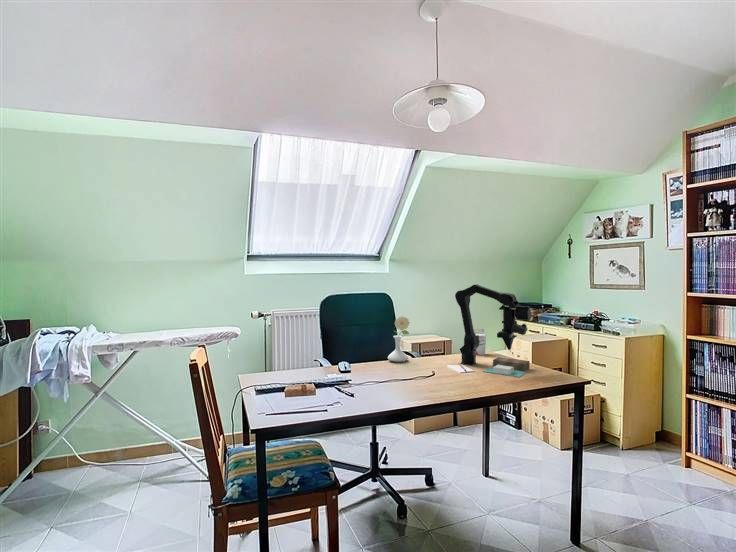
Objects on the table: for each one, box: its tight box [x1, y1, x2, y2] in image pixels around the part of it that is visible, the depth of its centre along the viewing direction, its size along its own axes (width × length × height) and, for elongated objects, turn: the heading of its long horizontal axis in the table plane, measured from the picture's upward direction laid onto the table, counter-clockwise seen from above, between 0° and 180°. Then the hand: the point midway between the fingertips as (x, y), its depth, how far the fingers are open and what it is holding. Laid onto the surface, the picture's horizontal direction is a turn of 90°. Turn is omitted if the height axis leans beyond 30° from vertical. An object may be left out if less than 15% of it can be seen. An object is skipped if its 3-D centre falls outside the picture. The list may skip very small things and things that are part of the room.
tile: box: [492, 365, 514, 375], centre depth 211 cm, size 8×6×2 cm
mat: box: [482, 366, 527, 378], centre depth 212 cm, size 18×11×1 cm, turn 53°
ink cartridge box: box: [473, 328, 487, 356], centre depth 253 cm, size 9×5×15 cm, turn 84°
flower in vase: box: [387, 316, 410, 363], centre depth 237 cm, size 13×11×25 cm
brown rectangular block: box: [492, 356, 530, 372], centre depth 220 cm, size 16×8×4 cm, turn 53°
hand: (509, 349), depth 216 cm, fingers closed
